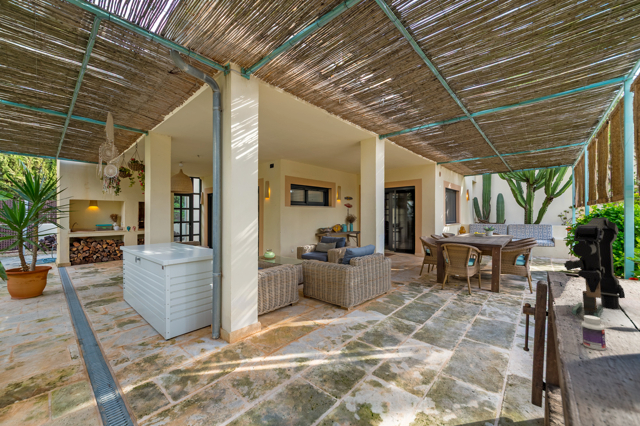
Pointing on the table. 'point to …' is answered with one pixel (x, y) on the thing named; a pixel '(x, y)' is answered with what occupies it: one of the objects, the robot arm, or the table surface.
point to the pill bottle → (593, 333)
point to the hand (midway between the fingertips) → (593, 291)
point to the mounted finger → (589, 302)
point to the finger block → (590, 294)
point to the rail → (586, 311)
